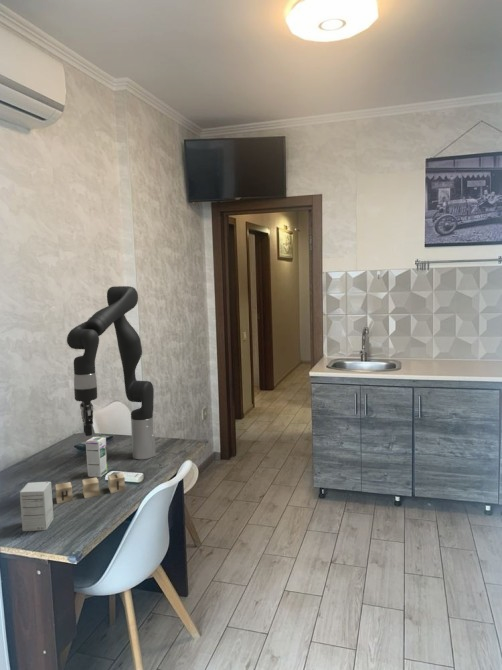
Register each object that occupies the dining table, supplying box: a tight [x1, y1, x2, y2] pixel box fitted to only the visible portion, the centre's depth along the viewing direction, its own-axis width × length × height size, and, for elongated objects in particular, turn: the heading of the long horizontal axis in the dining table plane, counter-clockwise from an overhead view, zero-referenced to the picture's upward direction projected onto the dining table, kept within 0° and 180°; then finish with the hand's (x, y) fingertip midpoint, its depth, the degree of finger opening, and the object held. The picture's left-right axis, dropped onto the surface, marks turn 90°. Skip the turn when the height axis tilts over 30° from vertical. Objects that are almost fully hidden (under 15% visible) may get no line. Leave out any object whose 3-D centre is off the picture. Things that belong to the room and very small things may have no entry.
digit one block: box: [107, 472, 126, 494], centre depth 177 cm, size 5×5×5 cm
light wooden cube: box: [55, 481, 74, 505], centre depth 170 cm, size 5×5×5 cm
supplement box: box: [19, 481, 54, 532], centre depth 151 cm, size 7×7×13 cm
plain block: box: [81, 477, 100, 499], centre depth 173 cm, size 5×5×5 cm
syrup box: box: [85, 436, 109, 478], centre depth 191 cm, size 6×6×14 cm
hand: (87, 433), depth 171 cm, fingers open, 3 cm apart
